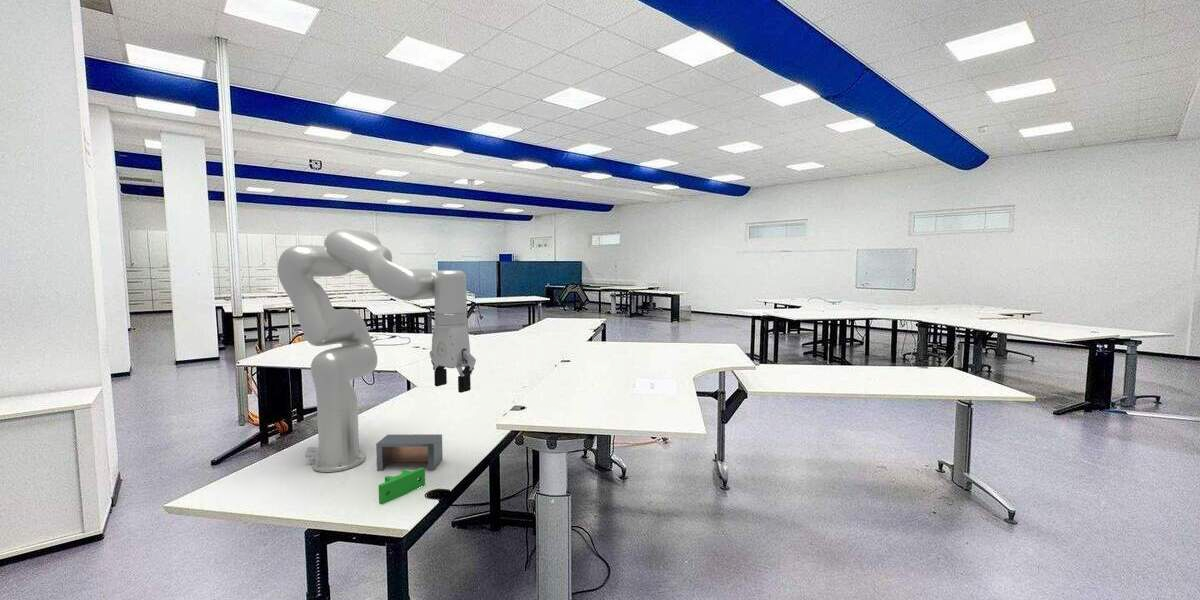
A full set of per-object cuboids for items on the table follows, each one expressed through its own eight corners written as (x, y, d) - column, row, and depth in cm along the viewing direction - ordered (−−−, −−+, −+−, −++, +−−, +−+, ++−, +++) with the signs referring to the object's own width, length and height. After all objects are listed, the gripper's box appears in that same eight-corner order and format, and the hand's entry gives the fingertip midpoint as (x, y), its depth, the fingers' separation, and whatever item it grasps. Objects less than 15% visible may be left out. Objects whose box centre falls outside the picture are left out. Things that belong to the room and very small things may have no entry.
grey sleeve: (377, 470, 121) (376, 443, 120) (388, 460, 128) (387, 434, 127) (434, 470, 121) (433, 443, 121) (442, 460, 128) (442, 434, 127)
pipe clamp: (416, 482, 115) (415, 464, 115) (425, 486, 113) (425, 468, 113) (372, 500, 106) (372, 481, 106) (381, 505, 104) (381, 485, 103)
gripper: (417, 319, 116) (419, 386, 117) (459, 324, 105) (461, 397, 107) (443, 316, 122) (444, 380, 123) (485, 321, 111) (486, 390, 113)
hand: (452, 388), depth 115 cm, fingers open, 9 cm apart
